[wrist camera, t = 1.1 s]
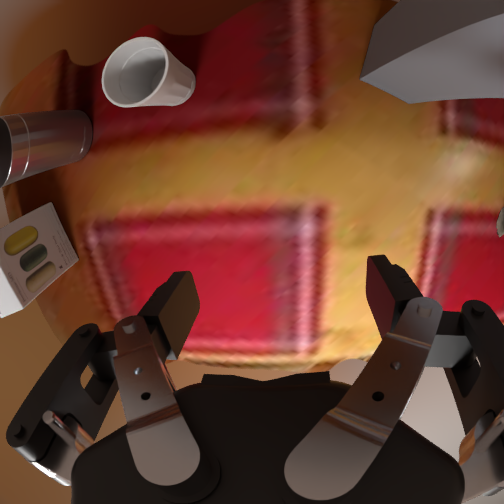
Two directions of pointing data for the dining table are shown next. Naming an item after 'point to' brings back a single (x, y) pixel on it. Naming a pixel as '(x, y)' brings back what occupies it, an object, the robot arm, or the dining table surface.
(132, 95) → the cup
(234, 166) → the dining table surface
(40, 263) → the supplement box
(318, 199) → the dining table surface
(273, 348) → the dining table surface
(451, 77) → the stand
